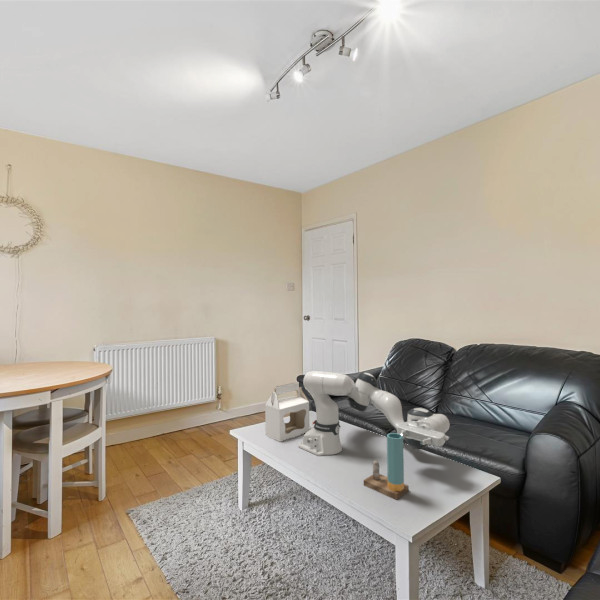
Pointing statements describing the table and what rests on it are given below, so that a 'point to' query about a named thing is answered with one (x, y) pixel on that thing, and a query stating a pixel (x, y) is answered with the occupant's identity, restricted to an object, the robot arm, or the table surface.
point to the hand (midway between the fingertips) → (411, 439)
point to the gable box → (278, 409)
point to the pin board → (382, 483)
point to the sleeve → (395, 462)
